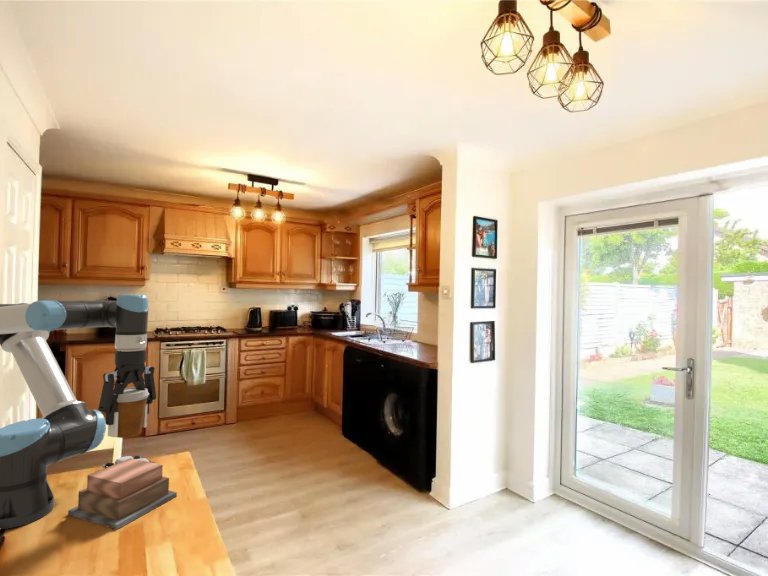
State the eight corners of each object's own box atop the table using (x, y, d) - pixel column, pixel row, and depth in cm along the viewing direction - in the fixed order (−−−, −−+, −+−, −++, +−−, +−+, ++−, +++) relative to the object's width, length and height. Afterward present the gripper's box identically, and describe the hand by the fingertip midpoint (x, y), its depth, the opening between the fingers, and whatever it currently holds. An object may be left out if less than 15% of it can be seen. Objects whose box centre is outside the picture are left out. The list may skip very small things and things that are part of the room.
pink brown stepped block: (68, 514, 106) (69, 477, 106) (131, 485, 123) (132, 453, 123) (116, 529, 100) (118, 490, 100) (176, 496, 116) (177, 462, 117)
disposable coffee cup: (140, 439, 108) (142, 394, 108) (100, 441, 106) (102, 395, 106) (152, 427, 117) (154, 386, 118) (115, 429, 115) (117, 387, 115)
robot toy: (99, 475, 131) (112, 486, 121) (99, 460, 132) (112, 471, 122) (140, 464, 140) (156, 474, 130) (141, 450, 141) (156, 459, 131)
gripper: (103, 355, 101) (99, 445, 100) (172, 346, 121) (169, 422, 120) (82, 353, 104) (79, 441, 103) (153, 344, 123) (150, 419, 123)
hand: (127, 431), depth 112 cm, fingers closed on disposable coffee cup, 8 cm apart
